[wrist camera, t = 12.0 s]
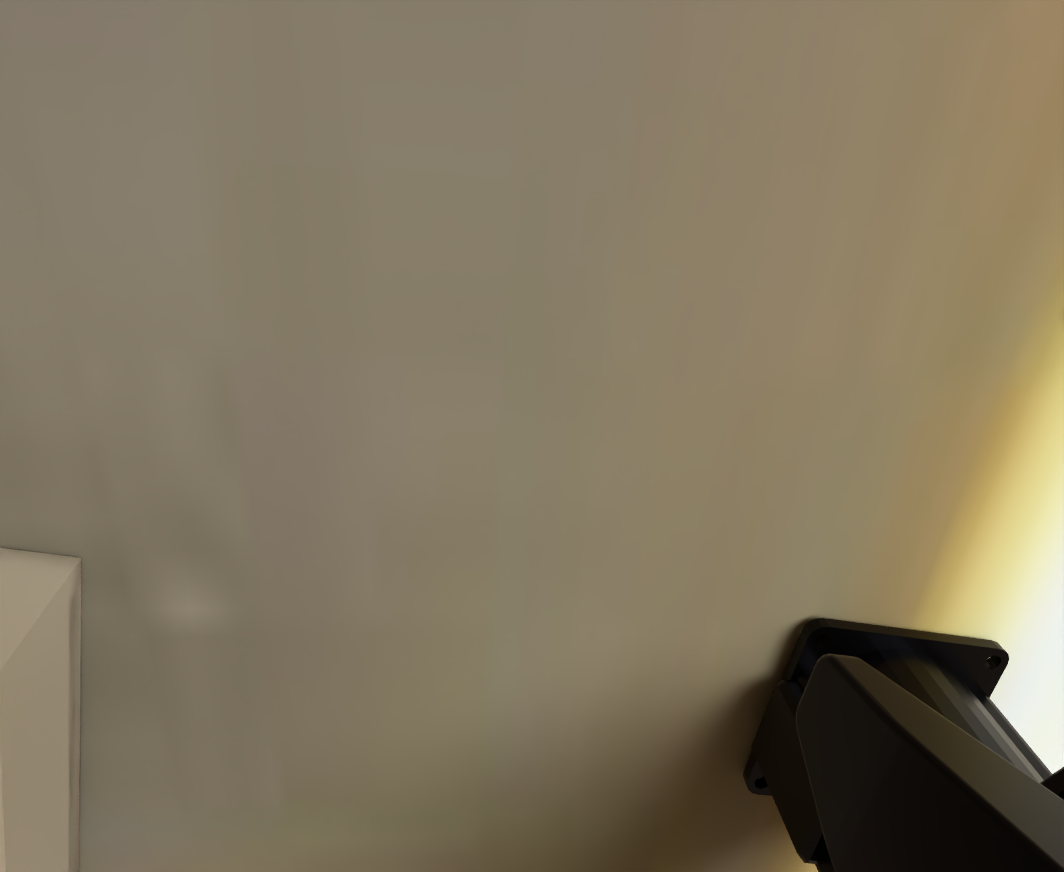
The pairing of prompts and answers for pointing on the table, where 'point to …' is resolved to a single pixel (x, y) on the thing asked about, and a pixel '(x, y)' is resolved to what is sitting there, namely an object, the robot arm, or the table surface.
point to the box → (39, 711)
